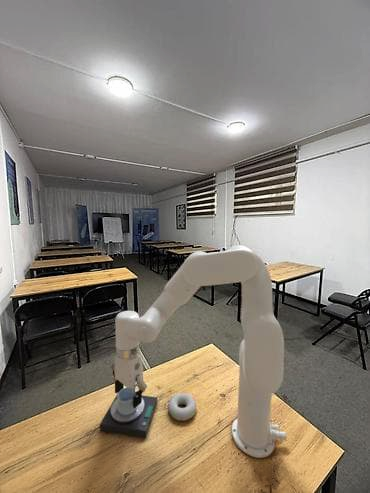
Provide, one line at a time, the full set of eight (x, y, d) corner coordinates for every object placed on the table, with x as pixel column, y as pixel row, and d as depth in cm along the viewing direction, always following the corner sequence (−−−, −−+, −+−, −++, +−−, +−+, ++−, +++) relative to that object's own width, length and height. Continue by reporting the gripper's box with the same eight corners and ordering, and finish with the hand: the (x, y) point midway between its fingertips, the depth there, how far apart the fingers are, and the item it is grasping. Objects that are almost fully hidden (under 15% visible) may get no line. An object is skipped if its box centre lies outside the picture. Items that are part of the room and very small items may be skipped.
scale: (157, 403, 77) (157, 396, 76) (145, 438, 64) (146, 430, 64) (118, 398, 79) (118, 391, 78) (99, 431, 66) (99, 423, 66)
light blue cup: (140, 399, 74) (140, 387, 74) (133, 416, 67) (133, 403, 67) (122, 397, 75) (122, 385, 74) (113, 413, 68) (113, 400, 68)
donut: (164, 420, 70) (193, 426, 68) (164, 411, 70) (193, 416, 68) (172, 397, 80) (198, 401, 78) (172, 388, 80) (198, 392, 78)
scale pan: (148, 397, 76) (148, 395, 76) (137, 425, 65) (137, 423, 65) (119, 394, 77) (119, 392, 77) (104, 420, 66) (104, 418, 66)
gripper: (154, 353, 67) (154, 403, 69) (121, 336, 78) (121, 380, 79) (135, 365, 61) (135, 420, 63) (102, 345, 72) (103, 392, 73)
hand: (128, 397), depth 71 cm, fingers open, 9 cm apart
